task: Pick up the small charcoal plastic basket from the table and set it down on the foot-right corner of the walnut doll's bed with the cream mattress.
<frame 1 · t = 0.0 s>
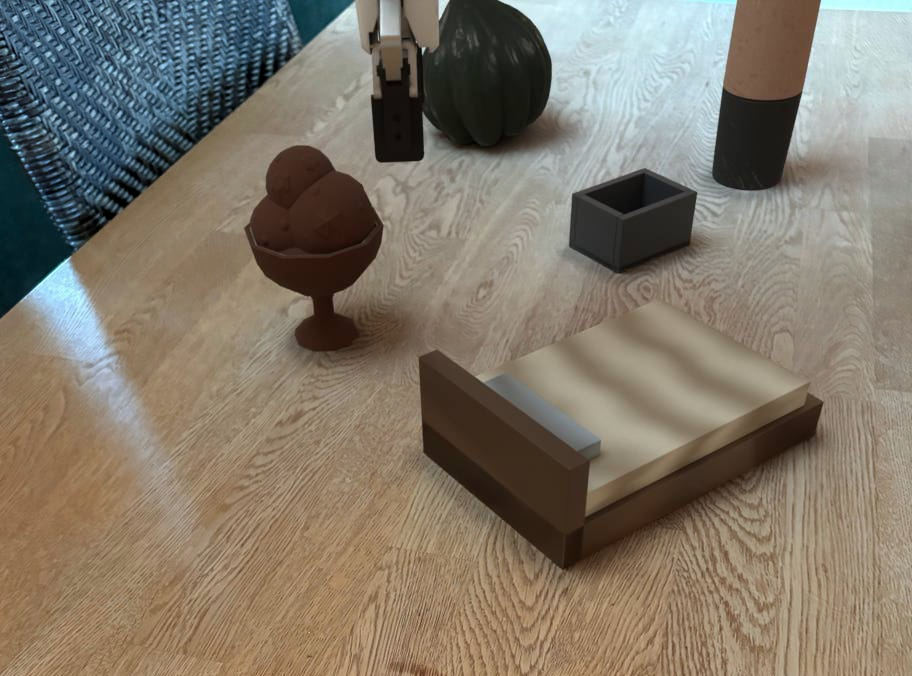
hand: (401, 131, 70), 18 cm above the table, tool pointing down, fingers open, 9 cm apart
basket: (629, 245, 97), on the table
bed: (618, 444, 75), on the table
ice cream bowl: (327, 336, 88), on the table
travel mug: (746, 177, 106), on the table
squash: (483, 135, 117), on the table
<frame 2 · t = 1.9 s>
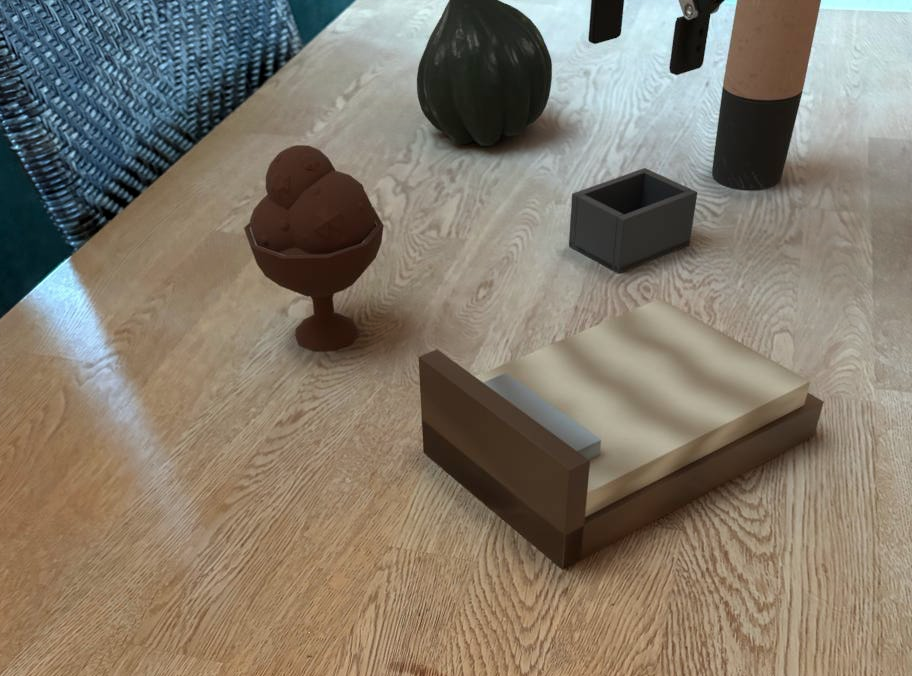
hand: (643, 54, 84), 16 cm above the table, tool pointing down, fingers open, 9 cm apart
nothing on the table moved.
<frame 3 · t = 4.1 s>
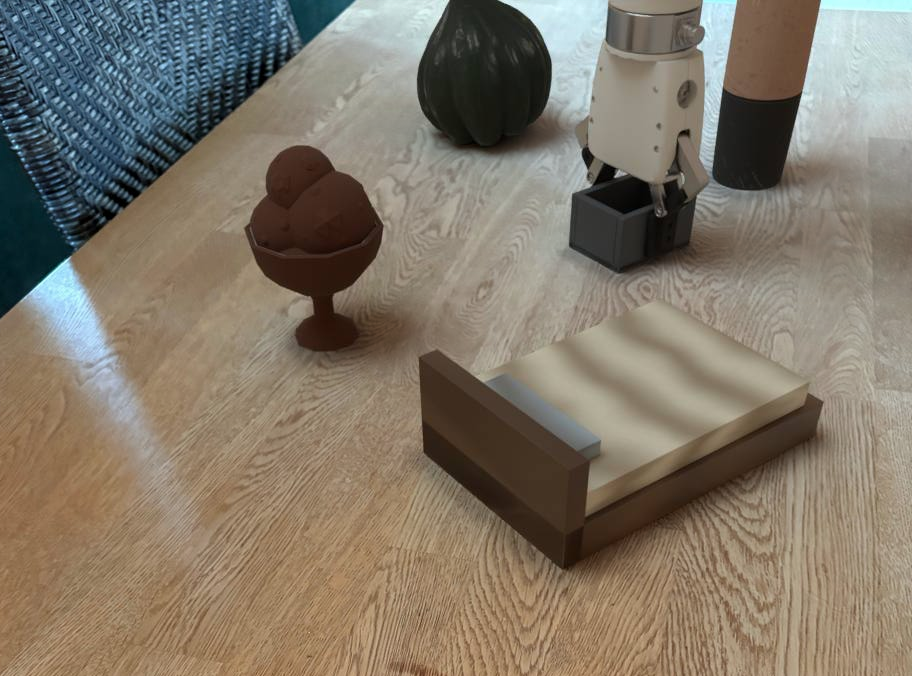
hand: (629, 237, 96), 1 cm above the table, tool pointing down, fingers closed on basket, 7 cm apart
basket: (628, 245, 97), on the table, touching gripper
everything else where it was.
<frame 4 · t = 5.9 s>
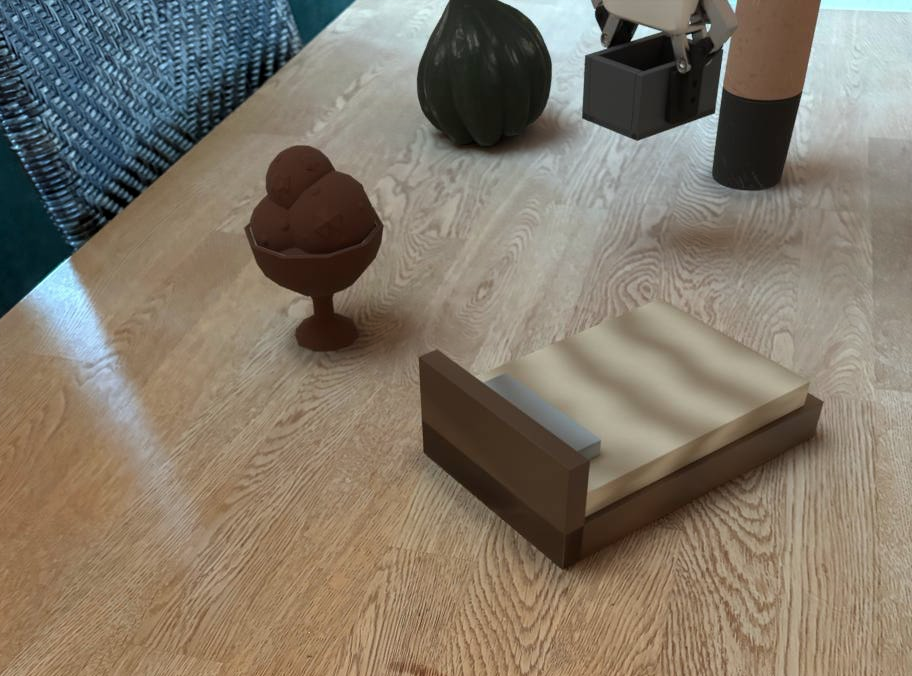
hand: (649, 105, 87), 12 cm above the table, tool pointing down, fingers closed on basket, 7 cm apart
basket: (648, 116, 88), point 12 cm above the table, touching gripper
everything else where it was.
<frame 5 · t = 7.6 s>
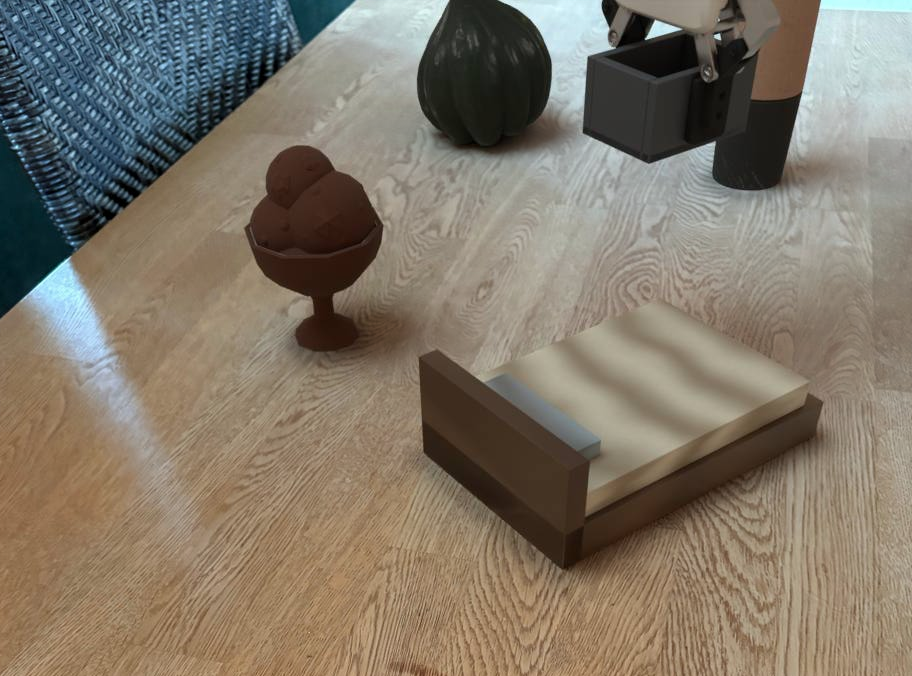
hand: (665, 120, 71), 18 cm above the table, tool pointing down, fingers closed on basket, 7 cm apart
basket: (663, 132, 72), point 17 cm above the table, touching gripper
everything else where it was.
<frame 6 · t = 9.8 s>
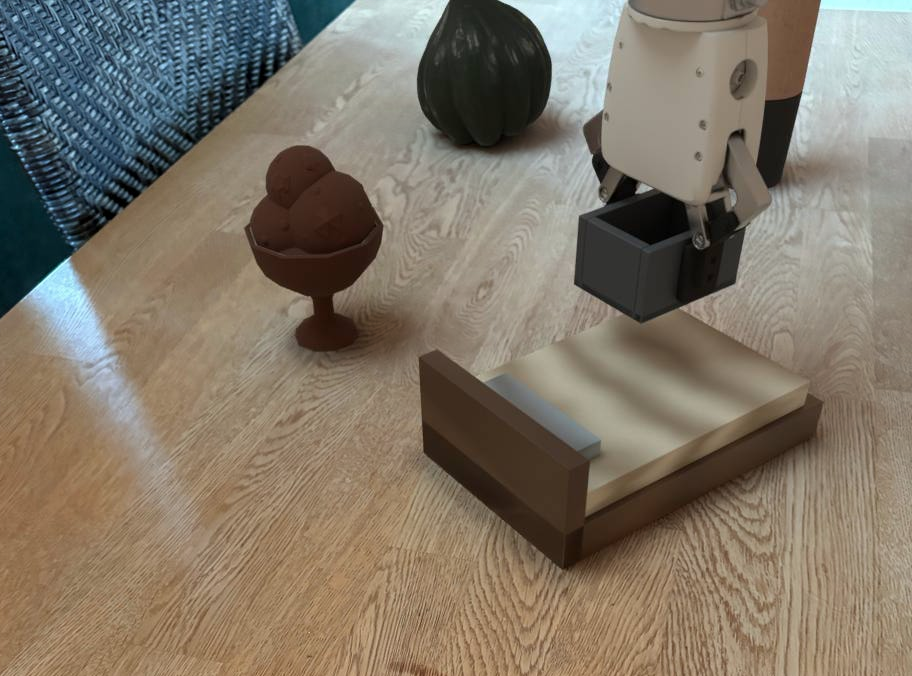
hand: (655, 273, 72), 10 cm above the table, tool pointing down, fingers closed on basket, 7 cm apart
basket: (654, 284, 72), point 9 cm above the table, touching gripper
everything else where it was.
when the fingers open (6 cm above the table, at t = 11.5 s): basket stays where it is, resting on bed.
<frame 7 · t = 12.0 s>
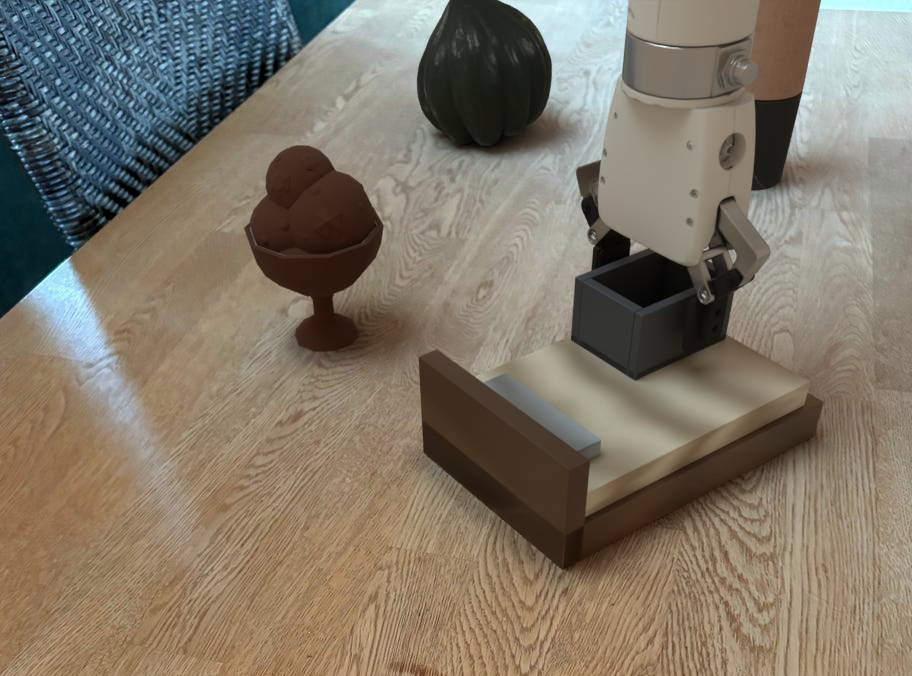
hand: (652, 318, 74), 7 cm above the table, tool pointing down, fingers open, 9 cm apart
basket: (647, 339, 76), point 5 cm above the table, touching bed
everything else where it was.
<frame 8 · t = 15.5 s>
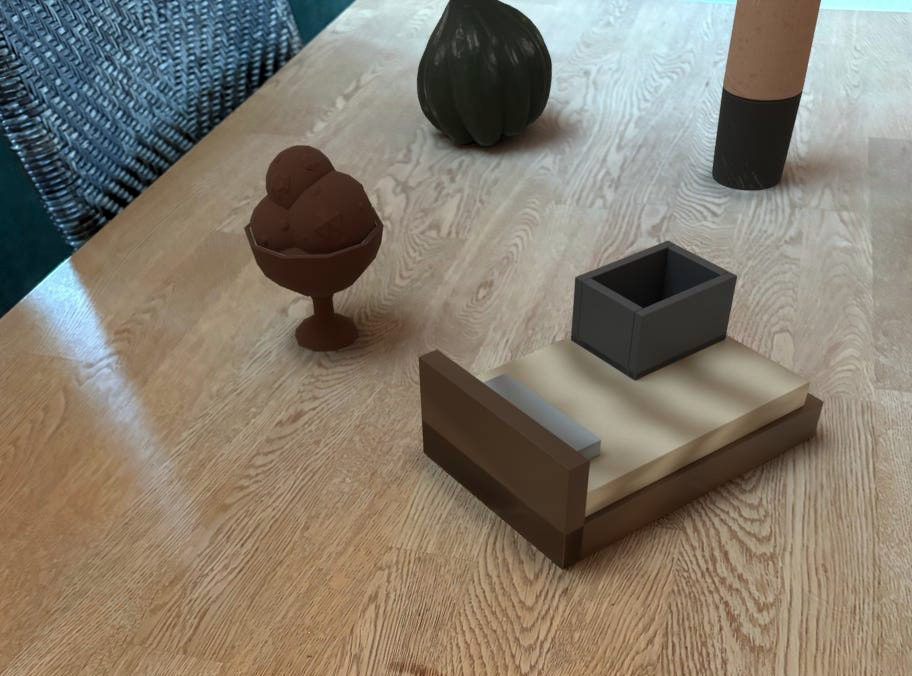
nothing on the table moved.
at the end: basket inside the target area on the bed (0.4 cm from its centre), point 5.0 cm above the bed's base; basket tilted 0°; the gripper is holding nothing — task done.
